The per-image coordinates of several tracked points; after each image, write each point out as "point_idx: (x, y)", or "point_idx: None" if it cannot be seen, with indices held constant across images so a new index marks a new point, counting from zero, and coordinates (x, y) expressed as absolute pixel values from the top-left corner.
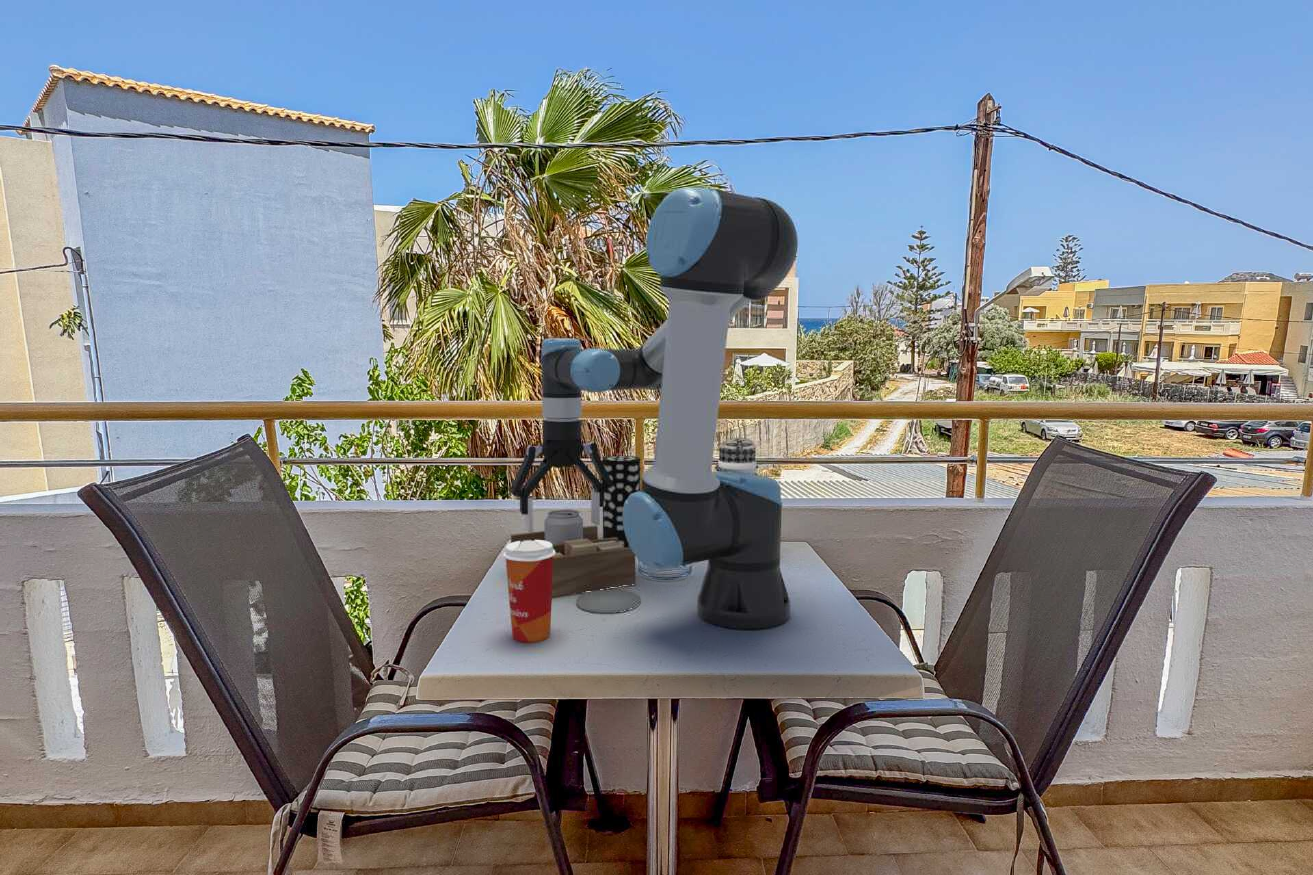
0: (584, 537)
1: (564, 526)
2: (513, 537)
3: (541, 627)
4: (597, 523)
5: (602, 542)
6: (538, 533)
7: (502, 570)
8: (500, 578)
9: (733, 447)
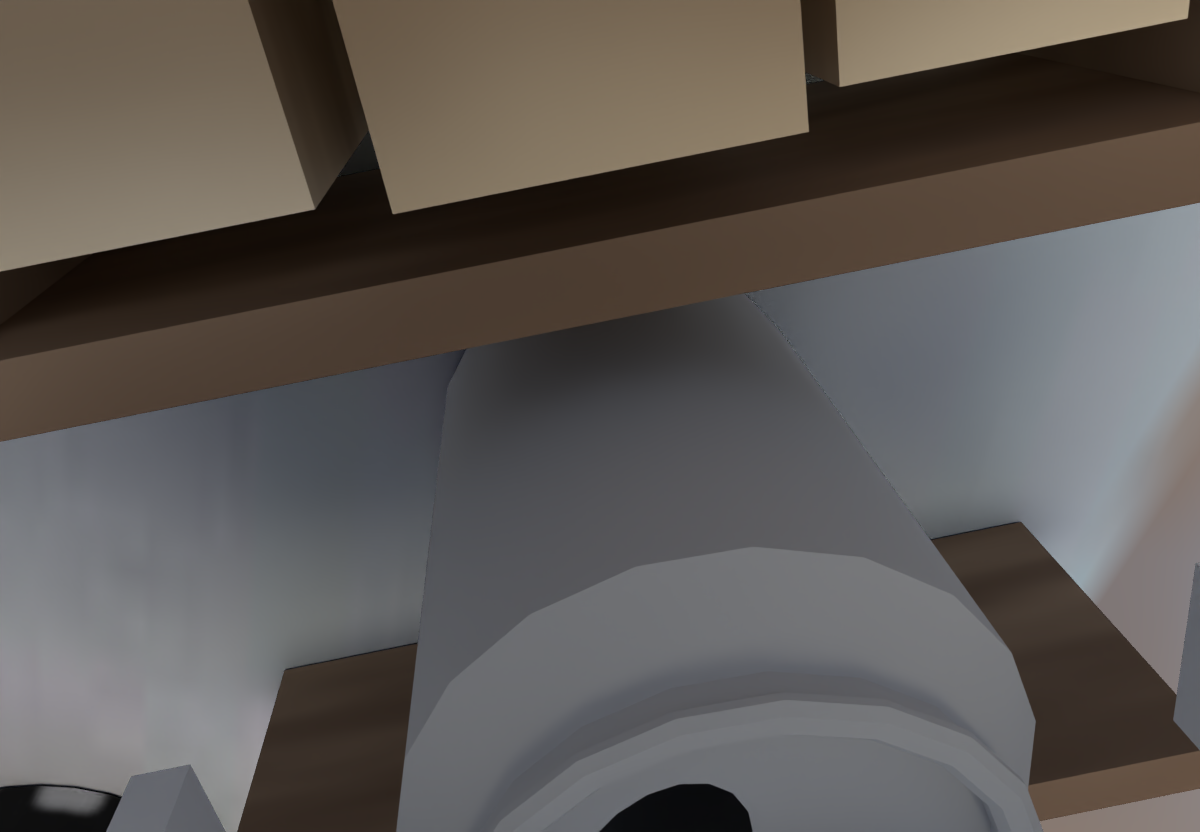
0: (381, 819)
1: (777, 525)
2: None
3: None
4: (158, 789)
5: (129, 213)
6: None
7: (1090, 541)
8: (1177, 347)
9: None
